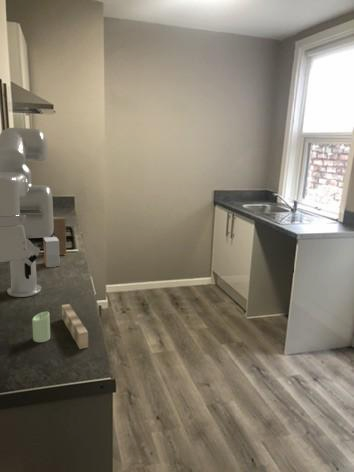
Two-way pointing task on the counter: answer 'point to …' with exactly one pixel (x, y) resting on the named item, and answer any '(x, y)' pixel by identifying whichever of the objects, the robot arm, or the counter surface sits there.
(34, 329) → the candle
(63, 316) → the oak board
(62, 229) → the decorative block
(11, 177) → the robot arm
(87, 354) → the counter surface
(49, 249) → the small box
